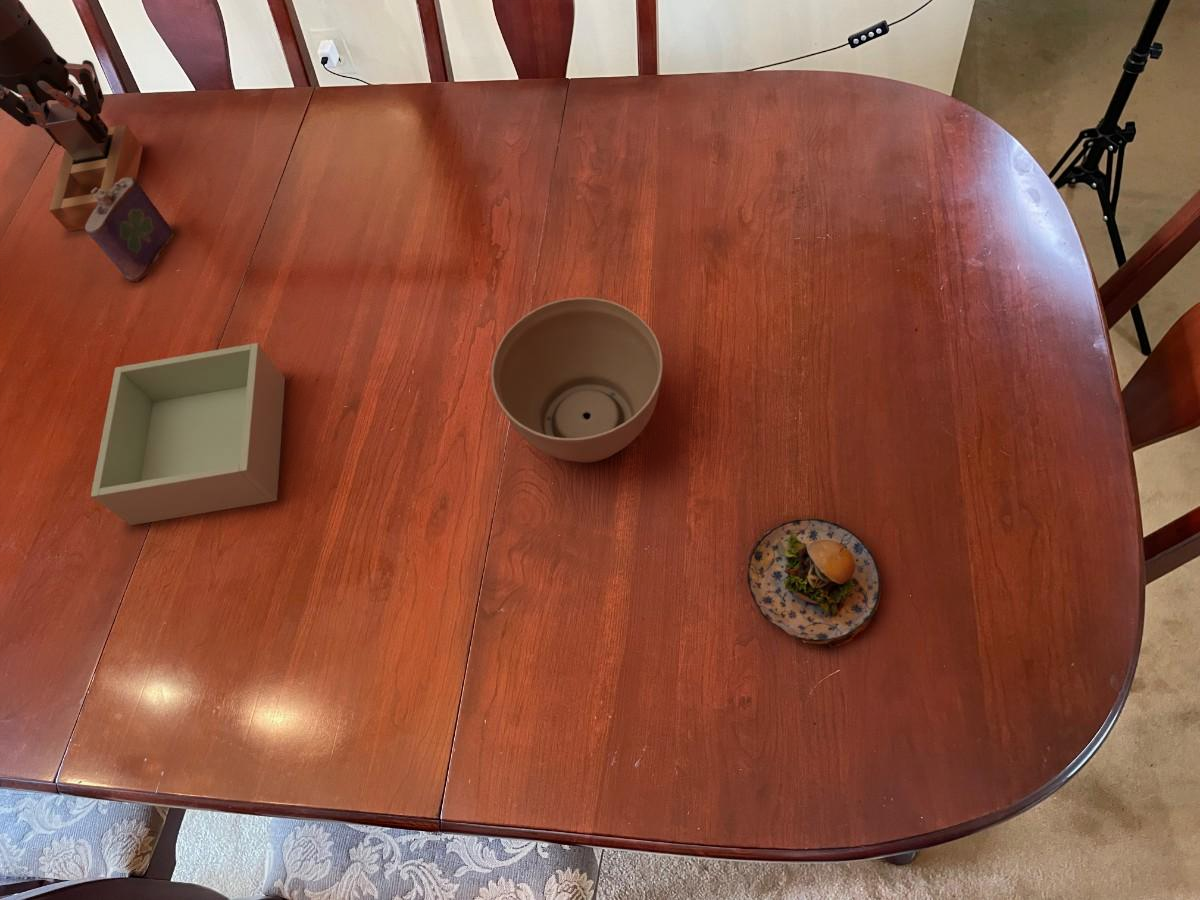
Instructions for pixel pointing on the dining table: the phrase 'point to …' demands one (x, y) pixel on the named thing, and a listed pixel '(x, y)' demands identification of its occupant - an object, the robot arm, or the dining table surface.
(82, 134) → the grey rectangular block
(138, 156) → the rack
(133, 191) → the flask
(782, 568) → the burger
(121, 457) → the tub
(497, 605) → the dining table surface
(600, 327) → the planter bowl
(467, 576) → the dining table surface
